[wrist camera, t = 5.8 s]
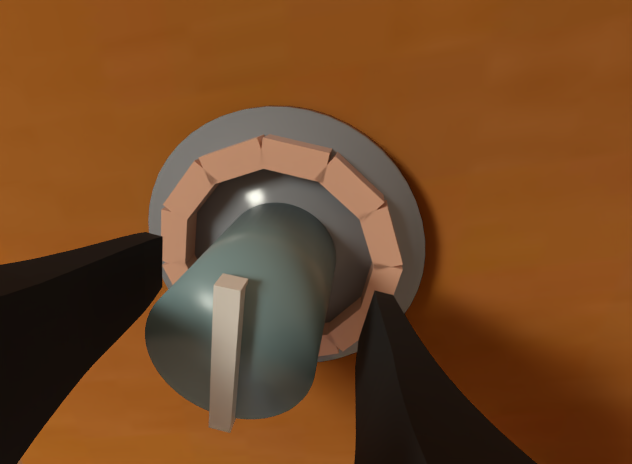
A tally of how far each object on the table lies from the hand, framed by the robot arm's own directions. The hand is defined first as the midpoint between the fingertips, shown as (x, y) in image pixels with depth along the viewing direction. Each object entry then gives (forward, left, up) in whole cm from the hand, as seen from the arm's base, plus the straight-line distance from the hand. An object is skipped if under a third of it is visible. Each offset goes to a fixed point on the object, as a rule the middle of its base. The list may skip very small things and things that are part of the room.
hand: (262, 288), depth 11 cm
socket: (0, 0, -3) cm, 3 cm away
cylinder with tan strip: (0, 0, -2) cm, 2 cm away
